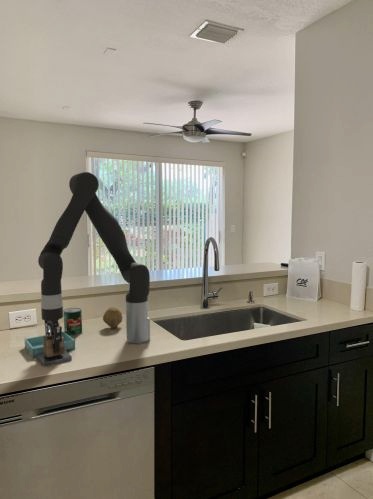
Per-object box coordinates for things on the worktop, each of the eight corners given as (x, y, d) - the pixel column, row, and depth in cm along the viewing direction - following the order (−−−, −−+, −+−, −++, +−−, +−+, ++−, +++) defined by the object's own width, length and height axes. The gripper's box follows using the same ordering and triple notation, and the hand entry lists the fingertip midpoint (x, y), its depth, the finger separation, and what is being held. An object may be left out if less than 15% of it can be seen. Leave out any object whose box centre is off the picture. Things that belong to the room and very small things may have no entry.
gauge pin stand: (63, 352, 144) (62, 335, 143) (71, 360, 135) (71, 342, 135) (36, 358, 138) (35, 340, 137) (43, 366, 130) (43, 348, 129)
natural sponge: (99, 329, 172) (98, 309, 171) (108, 324, 181) (108, 304, 180) (116, 331, 169) (116, 310, 169) (125, 325, 178) (125, 305, 177)
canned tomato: (74, 329, 172) (73, 306, 171) (86, 332, 168) (85, 309, 167) (60, 334, 166) (59, 310, 165) (72, 337, 162) (71, 312, 161)
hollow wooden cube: (59, 348, 141) (59, 333, 140) (64, 353, 136) (64, 337, 135) (43, 352, 137) (42, 336, 137) (47, 357, 132) (47, 341, 132)
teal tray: (64, 339, 159) (64, 331, 158) (75, 348, 147) (74, 340, 147) (24, 347, 149) (24, 339, 149) (33, 357, 138) (32, 348, 138)
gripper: (68, 308, 131) (70, 353, 133) (56, 300, 143) (58, 342, 144) (46, 311, 127) (48, 358, 128) (36, 303, 138) (38, 346, 140)
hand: (53, 349), depth 136 cm, fingers closed on hollow wooden cube, 6 cm apart
